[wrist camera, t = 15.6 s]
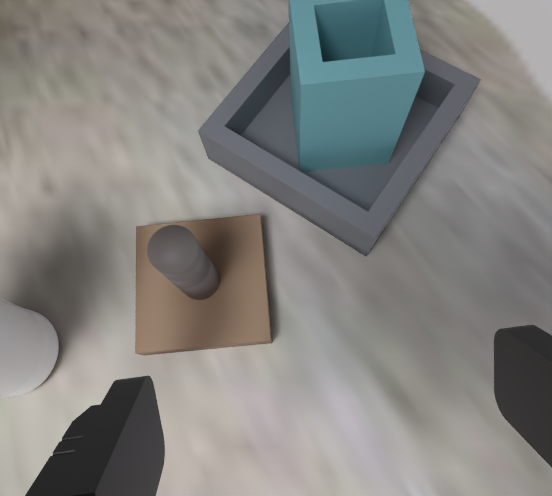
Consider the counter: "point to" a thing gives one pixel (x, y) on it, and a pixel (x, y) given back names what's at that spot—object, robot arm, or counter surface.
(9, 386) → the drinking glass
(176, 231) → the square wooden base
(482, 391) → the counter surface
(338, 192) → the charcoal tray
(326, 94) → the teal sleeve
